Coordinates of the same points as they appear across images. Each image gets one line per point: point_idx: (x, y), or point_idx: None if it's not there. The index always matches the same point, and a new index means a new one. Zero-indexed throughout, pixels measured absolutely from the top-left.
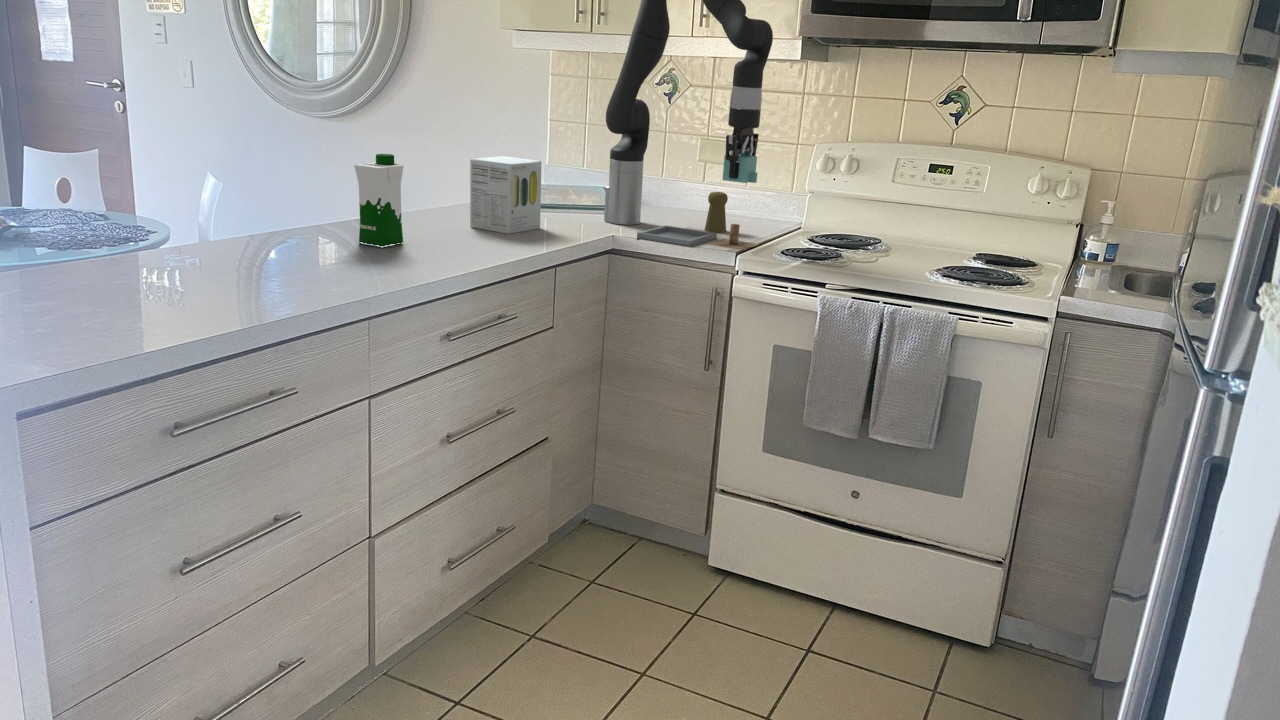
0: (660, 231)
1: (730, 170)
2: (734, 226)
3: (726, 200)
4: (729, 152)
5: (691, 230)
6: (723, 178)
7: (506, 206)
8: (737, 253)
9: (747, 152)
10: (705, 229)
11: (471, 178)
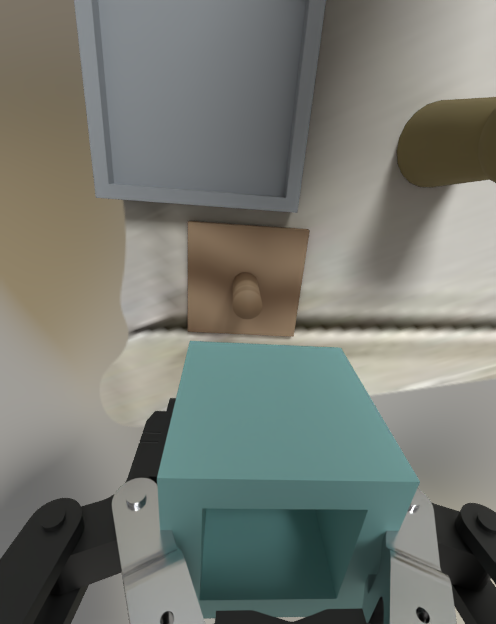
0: None
1: (140, 443)
2: (233, 307)
3: None
4: (47, 591)
5: (297, 106)
6: (188, 351)
7: None
8: (163, 323)
9: (365, 605)
10: (422, 113)
11: None
